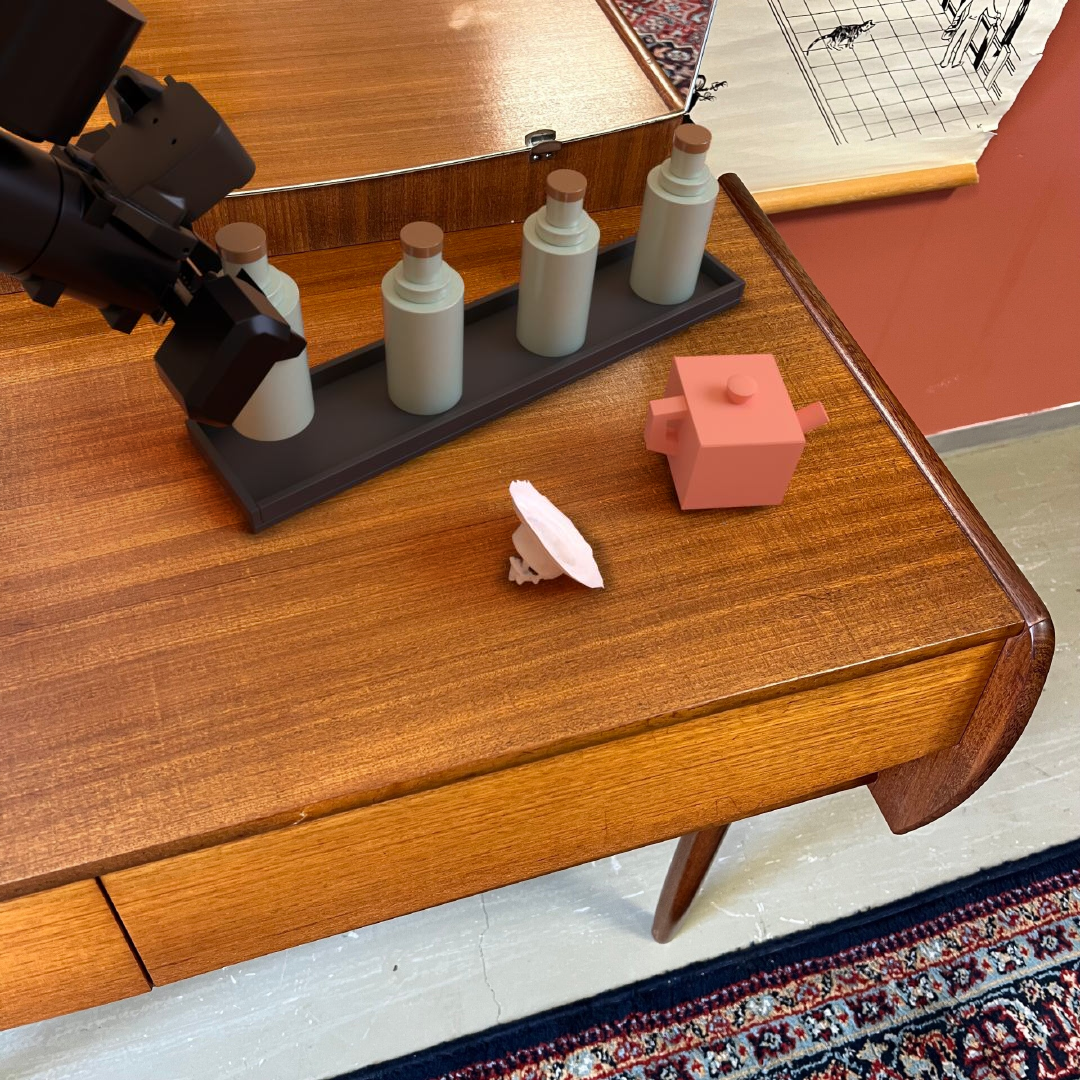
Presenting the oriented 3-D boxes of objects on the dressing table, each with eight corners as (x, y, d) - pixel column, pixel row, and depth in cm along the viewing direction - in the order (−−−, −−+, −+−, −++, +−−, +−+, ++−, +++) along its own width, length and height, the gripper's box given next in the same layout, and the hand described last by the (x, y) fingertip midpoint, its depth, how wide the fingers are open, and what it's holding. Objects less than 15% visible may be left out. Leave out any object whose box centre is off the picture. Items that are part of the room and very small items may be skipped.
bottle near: (385, 414, 69) (374, 259, 59) (390, 362, 72) (380, 206, 62) (461, 417, 69) (464, 263, 59) (463, 364, 72) (466, 210, 62)
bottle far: (632, 304, 78) (659, 152, 68) (626, 261, 81) (652, 110, 71) (698, 306, 78) (736, 156, 68) (690, 264, 81) (725, 114, 71)
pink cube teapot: (823, 511, 67) (864, 425, 61) (647, 521, 66) (669, 433, 59) (790, 426, 72) (825, 337, 65) (625, 433, 70) (644, 343, 64)
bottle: (246, 452, 61) (207, 278, 51) (216, 396, 63) (175, 220, 53) (327, 425, 63) (306, 252, 52) (296, 372, 65) (270, 198, 55)
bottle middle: (516, 356, 73) (527, 202, 63) (515, 309, 76) (525, 155, 66) (587, 358, 74) (610, 206, 64) (583, 311, 77) (604, 159, 67)
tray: (255, 534, 63) (250, 513, 61) (190, 442, 67) (183, 420, 65) (740, 303, 80) (746, 281, 78) (664, 241, 84) (669, 219, 82)
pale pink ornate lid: (522, 590, 66) (470, 484, 63) (597, 558, 66) (548, 450, 63) (530, 646, 59) (472, 529, 56) (614, 610, 58) (559, 490, 55)
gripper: (215, 165, 39) (453, 299, 52) (34, -34, 47) (278, 125, 60) (69, 391, 42) (329, 463, 55) (-77, 166, 50) (180, 275, 63)
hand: (278, 321), depth 58 cm, fingers closed on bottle, 5 cm apart
